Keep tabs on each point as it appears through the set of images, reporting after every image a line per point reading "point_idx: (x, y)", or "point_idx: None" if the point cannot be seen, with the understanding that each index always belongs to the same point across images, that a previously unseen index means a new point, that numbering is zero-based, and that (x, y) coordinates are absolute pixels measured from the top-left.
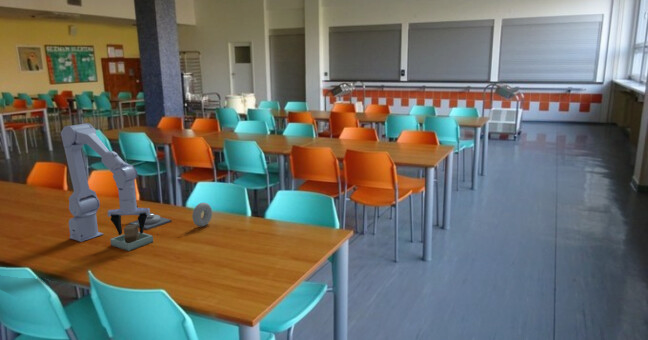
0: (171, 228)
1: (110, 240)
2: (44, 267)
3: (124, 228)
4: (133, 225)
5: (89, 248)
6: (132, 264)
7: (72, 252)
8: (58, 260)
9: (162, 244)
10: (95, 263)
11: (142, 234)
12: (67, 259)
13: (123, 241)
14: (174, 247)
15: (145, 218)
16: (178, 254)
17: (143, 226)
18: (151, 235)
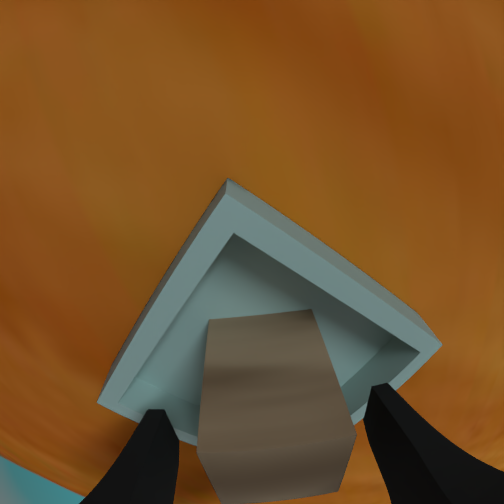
0: (484, 11)
1: (100, 394)
2: (44, 476)
3: (226, 501)
4: (302, 456)
5: (28, 382)
6: (332, 494)
7: (5, 405)
8: (31, 452)
9: (461, 345)
10: (185, 496)
11: (353, 306)
12: (51, 455)
13: (178, 342)
14: (495, 368)
15: (482, 486)
16: (485, 416)
17: (417, 423)
18: (434, 342)
